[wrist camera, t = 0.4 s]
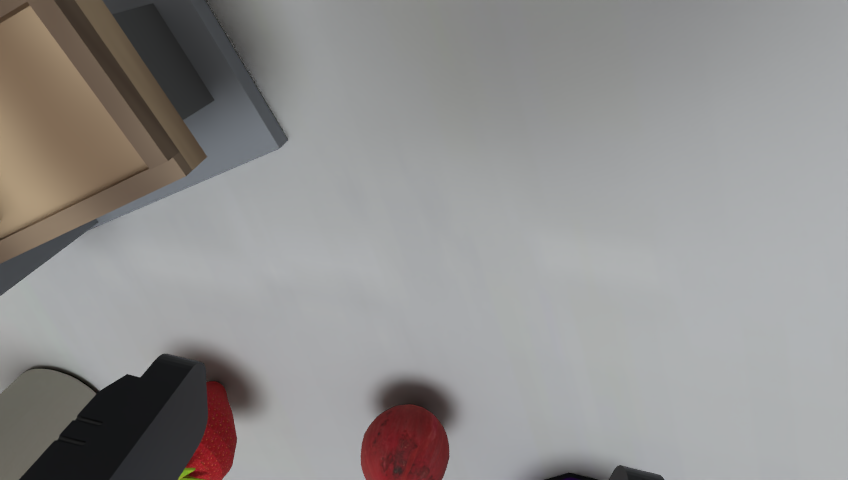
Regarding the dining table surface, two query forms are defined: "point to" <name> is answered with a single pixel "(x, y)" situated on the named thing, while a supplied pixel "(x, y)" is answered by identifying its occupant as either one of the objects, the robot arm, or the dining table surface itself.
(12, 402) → the travel mug
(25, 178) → the beam
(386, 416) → the pomegranate
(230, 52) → the pivot stand
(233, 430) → the strawberry
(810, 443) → the dining table surface
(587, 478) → the potion bottle
